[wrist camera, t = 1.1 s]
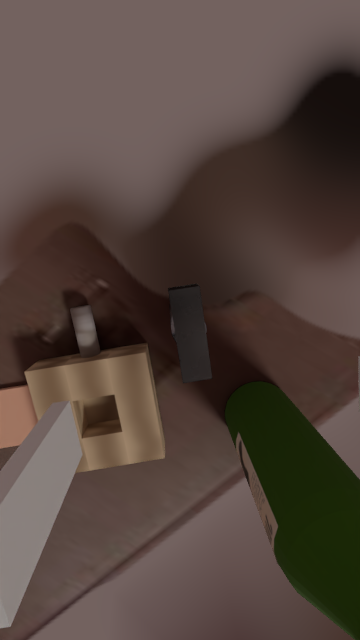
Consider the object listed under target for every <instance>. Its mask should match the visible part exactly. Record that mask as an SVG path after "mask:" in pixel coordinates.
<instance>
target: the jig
mask: <svg viewBox="0 0 360 640" xmlns="http://www.w3.org/2000/svg"><path fill="white" fill-rule="evenodd" d="M70 312H71V316H72V320H73V325H74V329H75V333H76V338H77V342H78V346H79V350H80V354H74V355H67V356H61V357H55V358H49V359H42V360H38V361H37V362H36V363H35V364H33V365H32V366H31V367H30V368H28V369H27V370H26V371H25V376H26V380H27V383H28V387H29V390H30V394H31V397H32V401H33V405H34V408H35V412H36V415H37V419H38V421H39V420H40V419H41V417H42V416H43V415H44V413H45V412H46V411H47V410H48V408H49V407H50V406H51V404H52V403H56V402H63V401H69V400H70V404H71V409H72V413H73V417H74V421H75V425H76V429H77V433H78V438H79V442H80V446H81V450H82V454H83V455H82V457H81V459H80V462H79V464H78V467H77V469H76V471H75V473H78V472H84V471H90V470H96V469H102V468H108V467H114V466H120V465H126V464H132V463H138V462H144V461H150V460H156V459H162V458H165V437H164V431H163V426H162V420H161V415H160V409H159V404H158V398H157V393H156V387H155V382H154V376H153V371H152V365H151V360H150V354H149V349H148V343H142V344H136V345H130V346H124V347H117V348H111V349H105V350H100V346H99V342H98V337H97V333H96V328H95V323H94V319H93V314H92V310H91V305H83V306H78V307H74V308H71V309H70Z"/></svg>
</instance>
